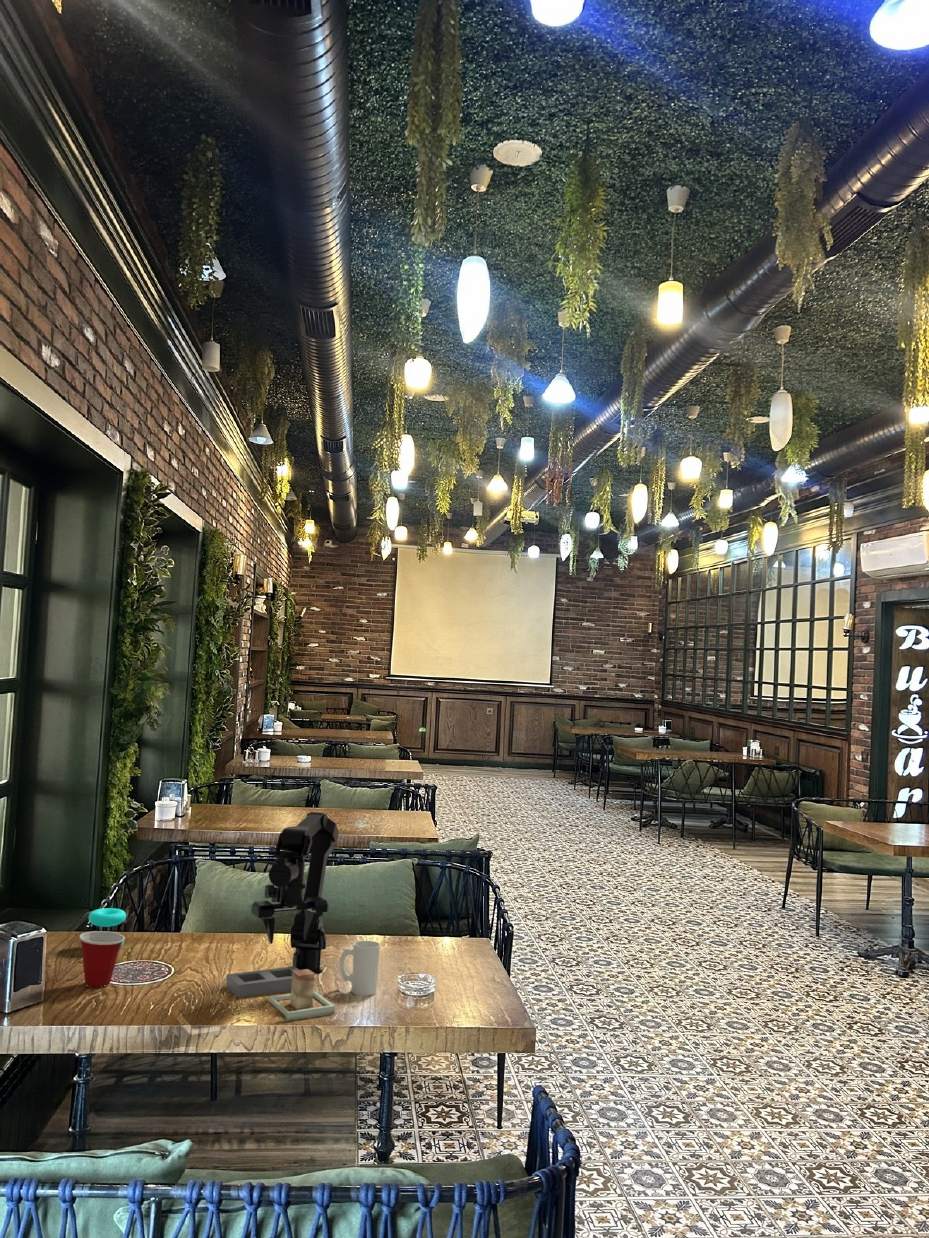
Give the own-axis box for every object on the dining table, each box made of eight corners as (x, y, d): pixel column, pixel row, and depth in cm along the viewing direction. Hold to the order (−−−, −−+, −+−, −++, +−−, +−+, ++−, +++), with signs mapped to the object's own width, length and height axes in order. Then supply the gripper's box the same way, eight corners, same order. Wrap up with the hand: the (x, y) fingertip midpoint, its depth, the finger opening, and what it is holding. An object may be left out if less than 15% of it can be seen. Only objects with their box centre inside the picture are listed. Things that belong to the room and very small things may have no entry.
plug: (305, 1002, 226) (307, 968, 227) (312, 1007, 223) (314, 973, 224) (290, 1004, 224) (292, 970, 225) (296, 1010, 221) (298, 975, 221)
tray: (314, 997, 232) (314, 990, 232) (334, 1013, 222) (334, 1005, 222) (267, 1004, 225) (268, 996, 226) (286, 1020, 215) (287, 1012, 215)
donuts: (133, 908, 269) (114, 917, 259) (130, 944, 268) (111, 953, 259) (101, 905, 271) (81, 913, 261) (98, 940, 270) (78, 950, 260)
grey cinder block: (293, 981, 243) (294, 966, 243) (306, 992, 236) (307, 976, 236) (225, 990, 234) (226, 974, 234) (237, 1001, 226) (238, 984, 226)
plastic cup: (119, 990, 229) (123, 940, 230) (72, 991, 226) (76, 941, 227) (123, 976, 240) (127, 929, 241) (78, 977, 237) (82, 929, 238)
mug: (376, 987, 242) (379, 940, 243) (377, 996, 235) (380, 948, 236) (337, 987, 241) (340, 939, 242) (337, 995, 234) (340, 947, 235)
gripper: (313, 870, 249) (309, 930, 248) (245, 874, 239) (241, 936, 238) (331, 878, 239) (327, 940, 238) (261, 883, 229) (257, 948, 228)
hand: (288, 941), depth 236 cm, fingers open, 9 cm apart
